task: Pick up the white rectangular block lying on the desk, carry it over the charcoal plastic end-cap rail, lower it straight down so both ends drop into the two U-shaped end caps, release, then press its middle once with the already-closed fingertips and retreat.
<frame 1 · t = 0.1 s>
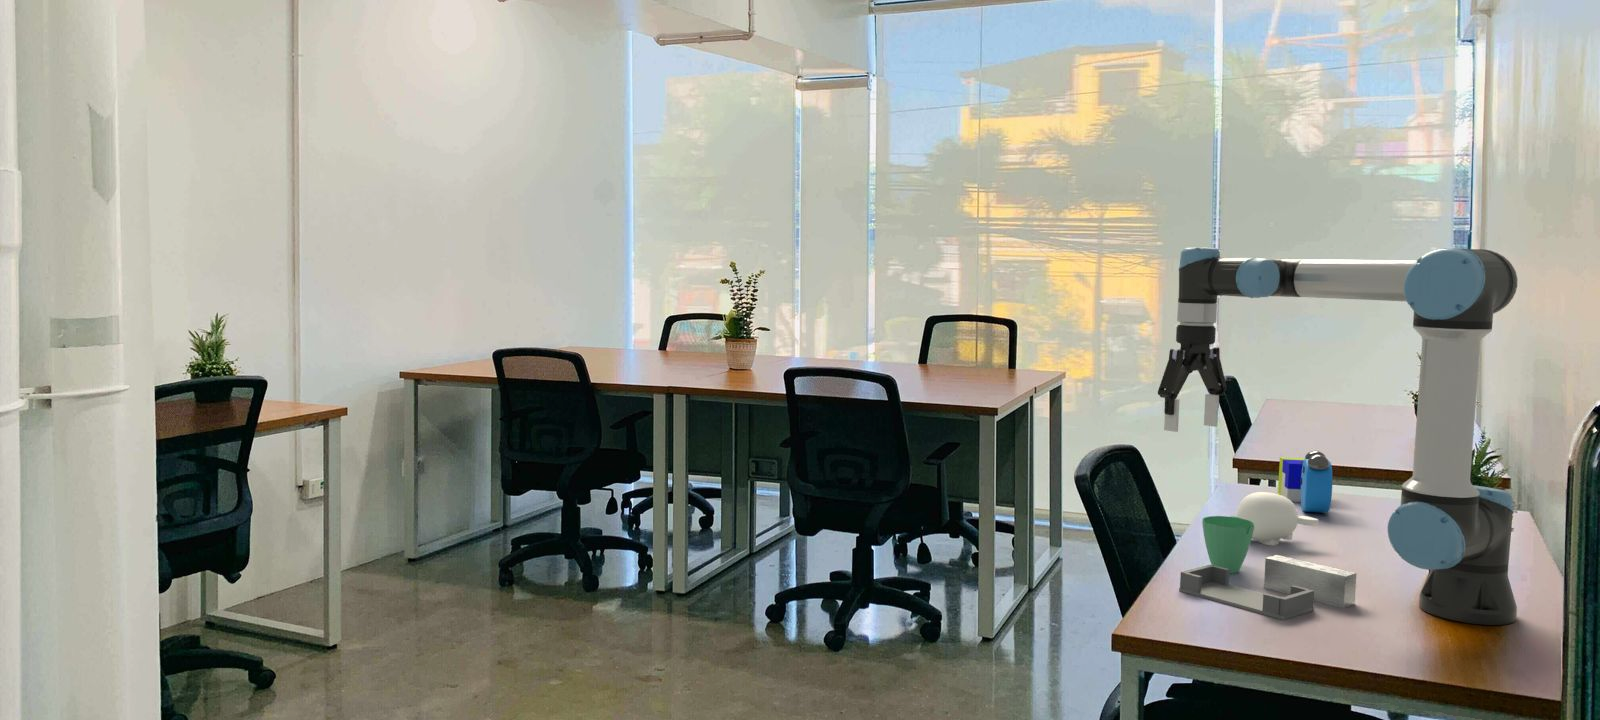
hand: (1191, 428, 236), 28 cm above the table, fingers open, 13 cm apart
puzzle toy: (1302, 499, 307), on the table
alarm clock: (1314, 513, 289), on the table
end caps: (1244, 600, 213), on the table
piggy bank: (1275, 543, 257), on the table
white rectangular block: (1308, 596, 216), on the table
mug: (1227, 568, 235), on the table
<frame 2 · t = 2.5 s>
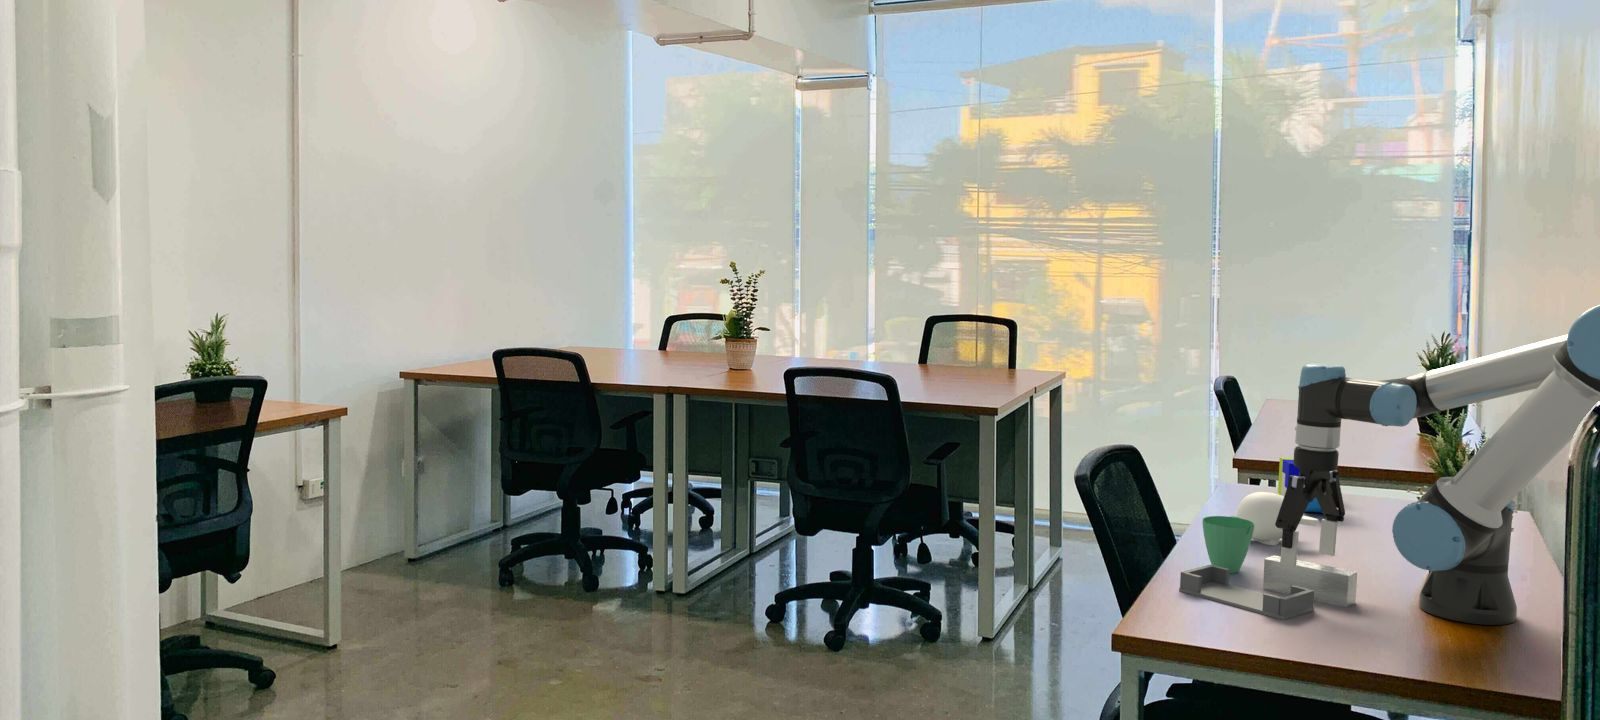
hand: (1307, 559, 216), 7 cm above the table, fingers open, 13 cm apart
nothing on the table moved.
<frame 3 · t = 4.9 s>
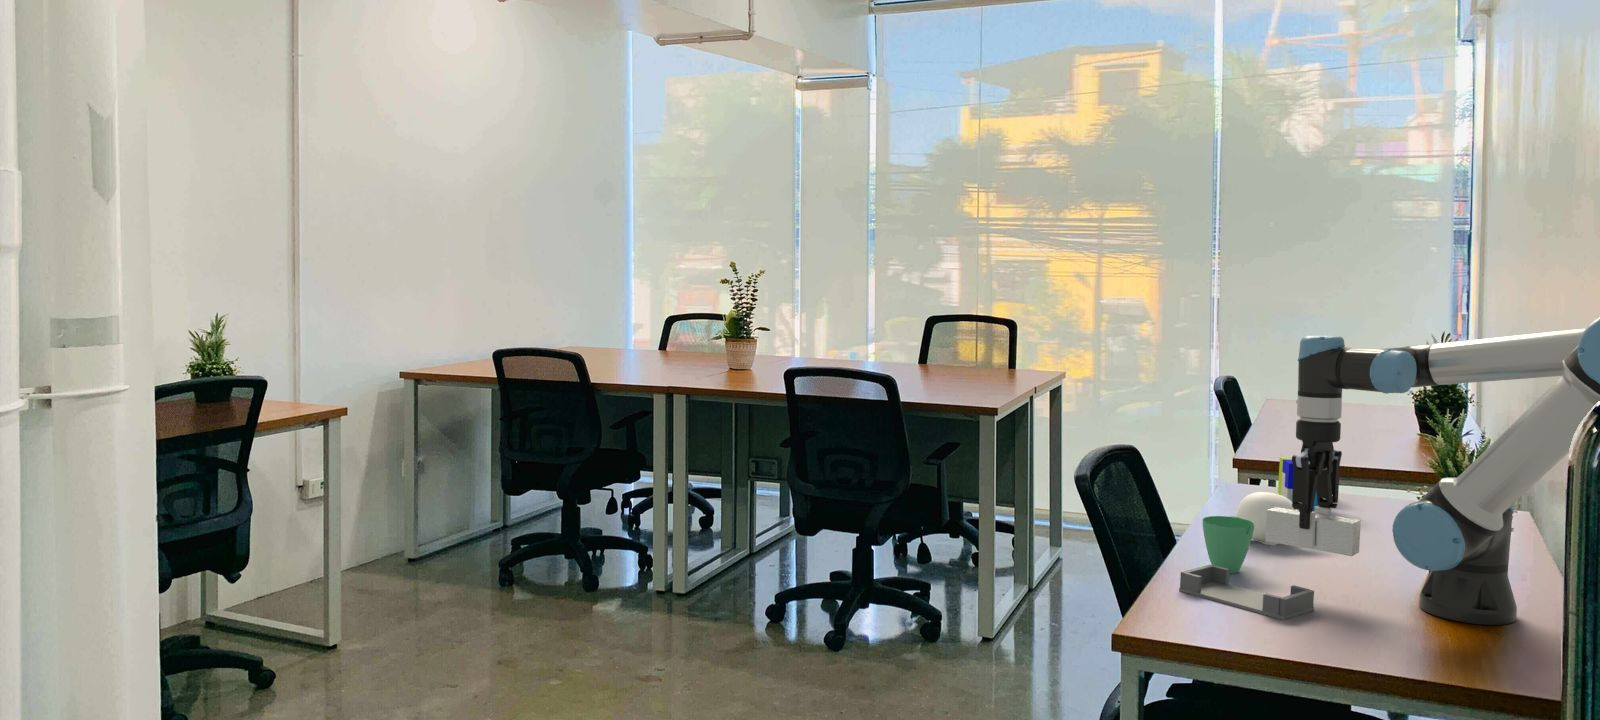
hand: (1313, 543, 215), 10 cm above the table, fingers closed on white rectangular block, 4 cm apart
white rectangular block: (1311, 546, 215), point 9 cm above the table, touching gripper
everything else where it was.
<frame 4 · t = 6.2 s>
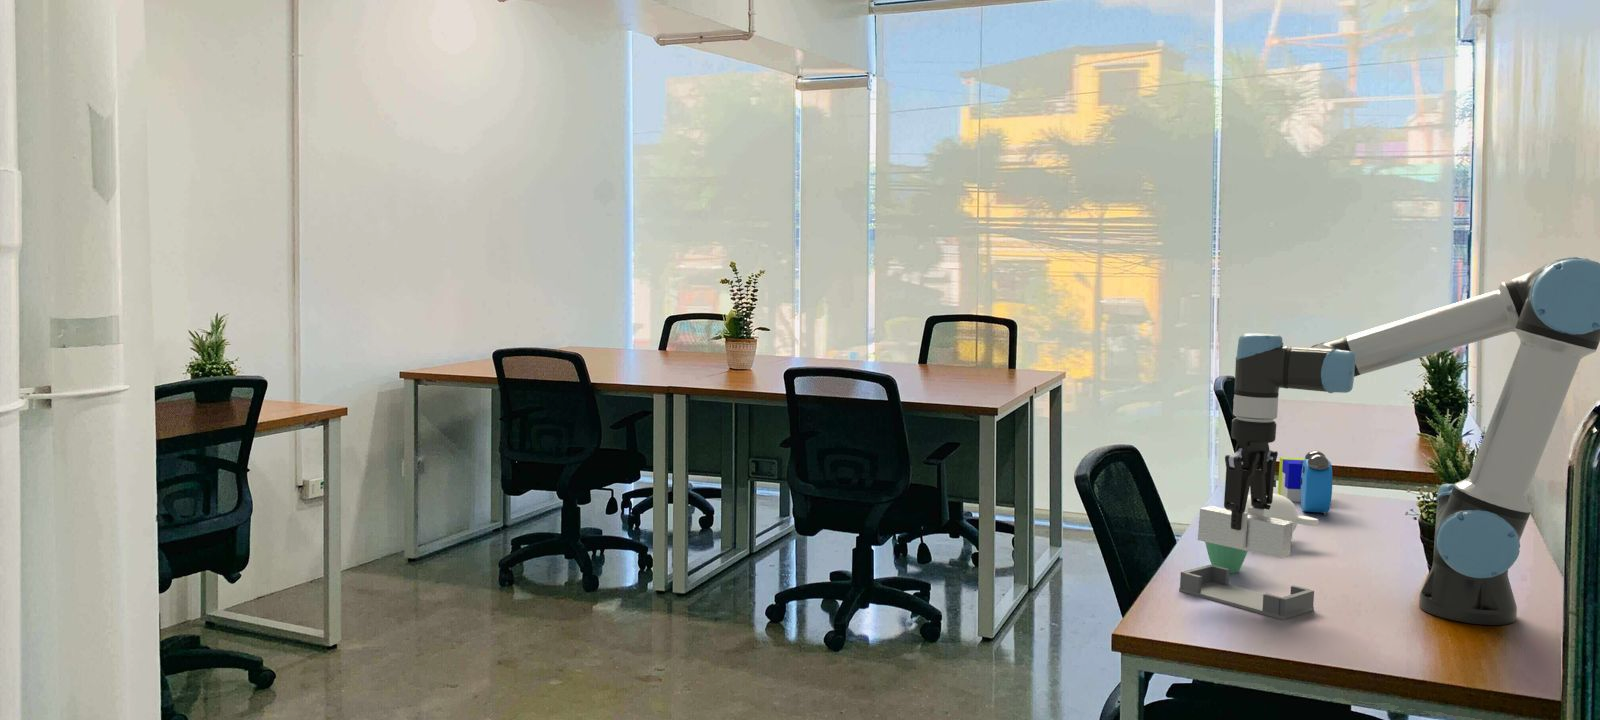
hand: (1245, 544, 212), 10 cm above the table, fingers closed on white rectangular block, 4 cm apart
white rectangular block: (1242, 547, 212), point 10 cm above the table, touching gripper
everything else where it was.
when the fingers open (1 cm above the table, at t = 7.9 s): white rectangular block stays where it is, resting on end caps.
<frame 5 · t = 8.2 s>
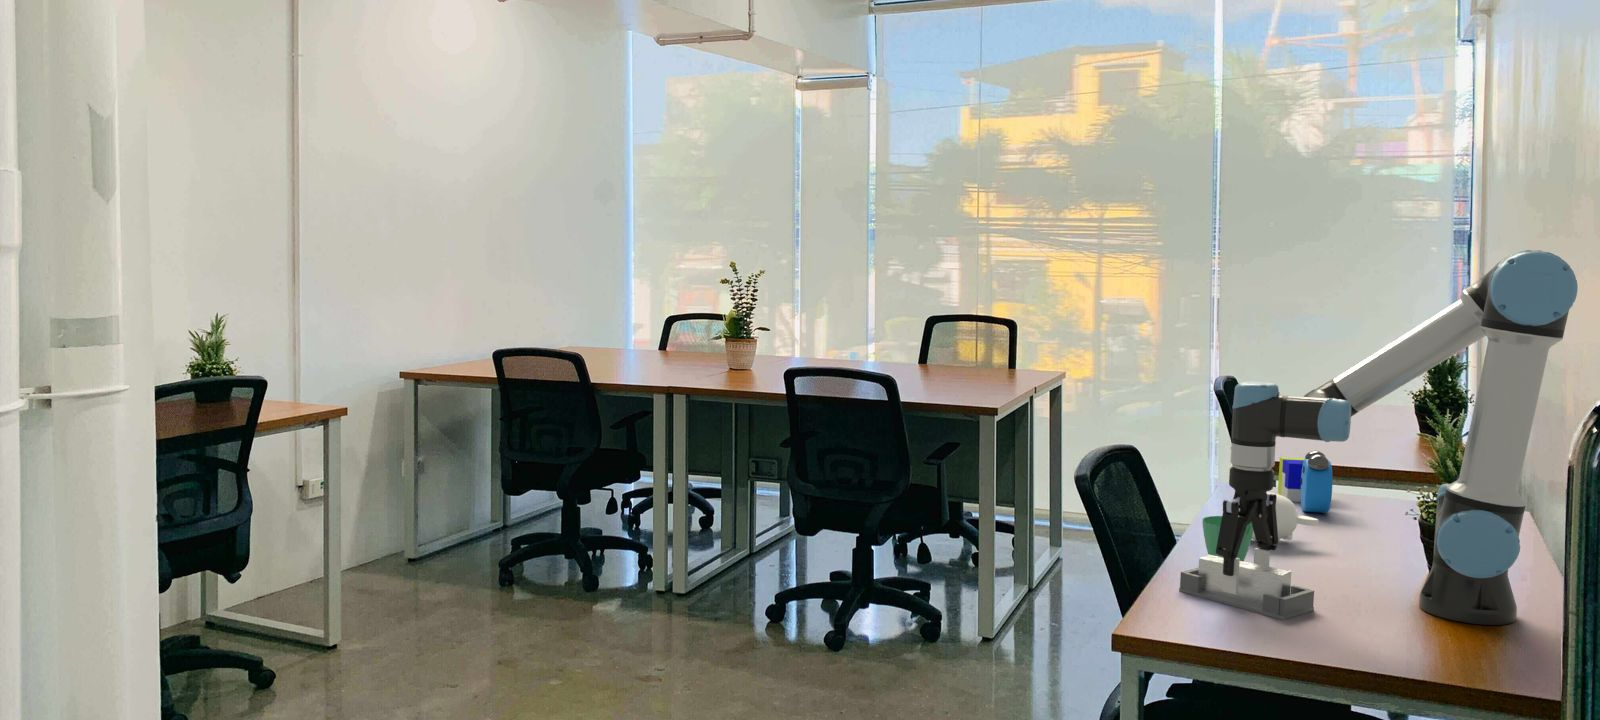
hand: (1245, 588, 212), 2 cm above the table, fingers open, 9 cm apart
white rectangular block: (1242, 596, 213), point 1 cm above the table, touching end caps
everything else where it was.
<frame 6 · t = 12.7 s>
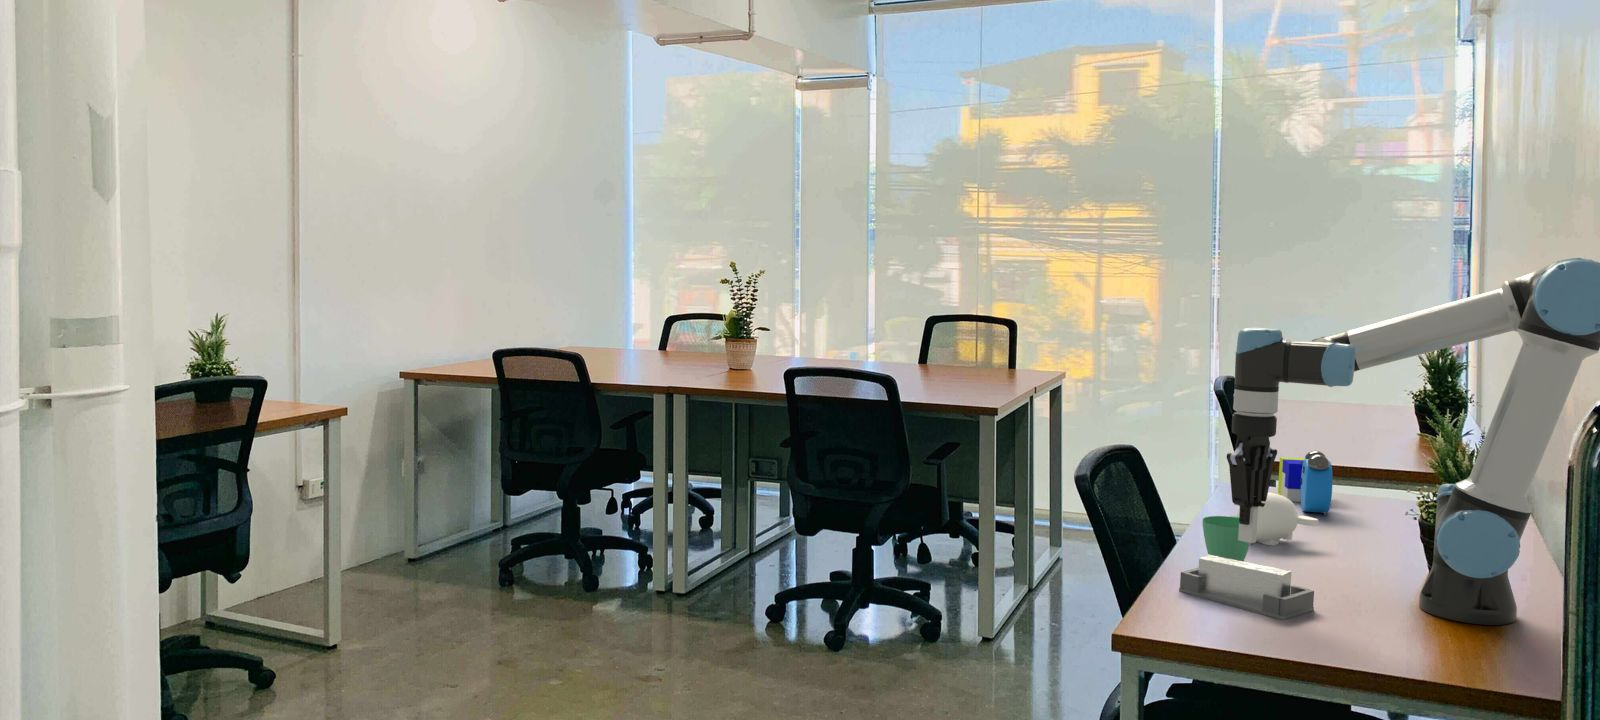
hand: (1247, 541, 212), 11 cm above the table, fingers closed
nothing on the table moved.
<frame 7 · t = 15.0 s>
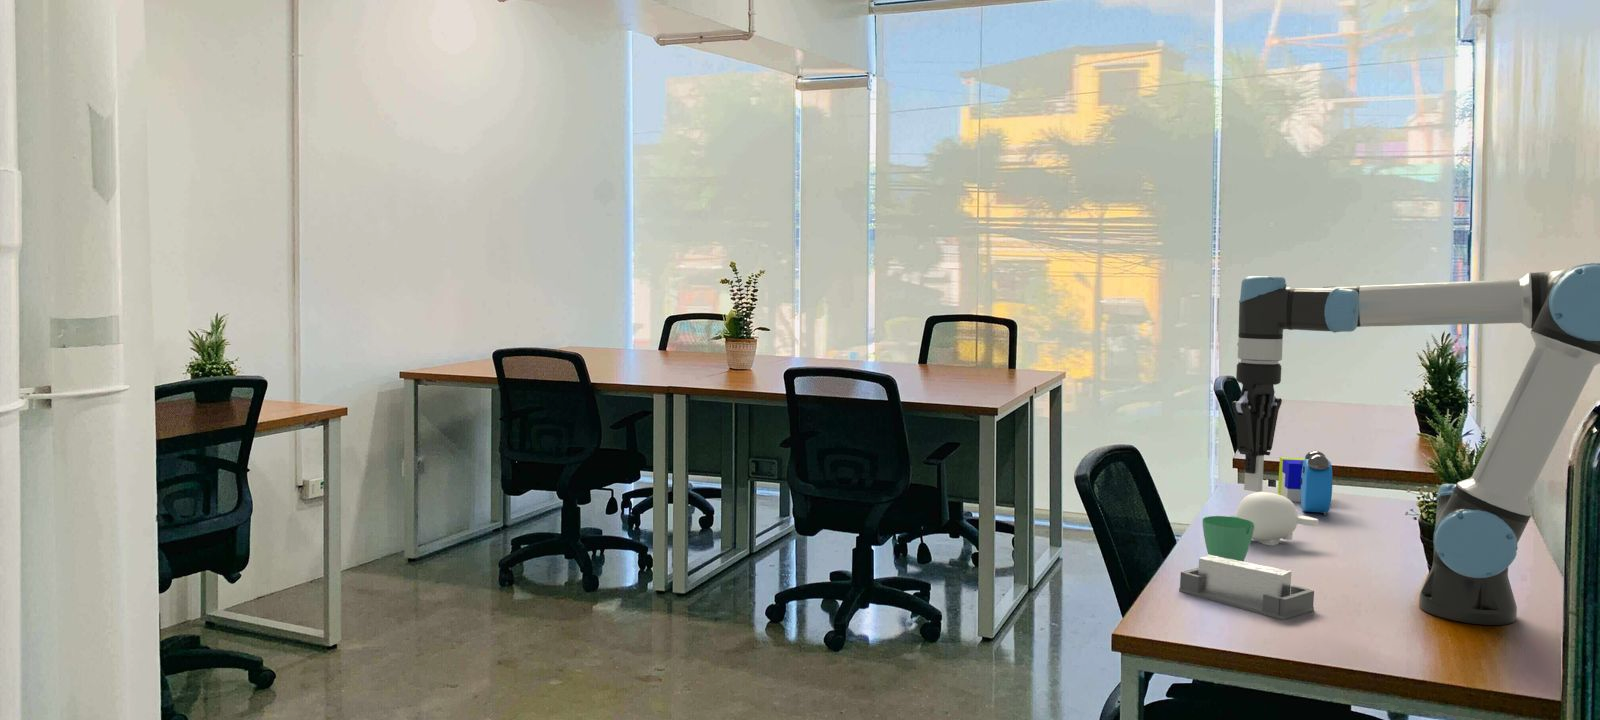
hand: (1253, 490, 211), 20 cm above the table, fingers closed
nothing on the table moved.
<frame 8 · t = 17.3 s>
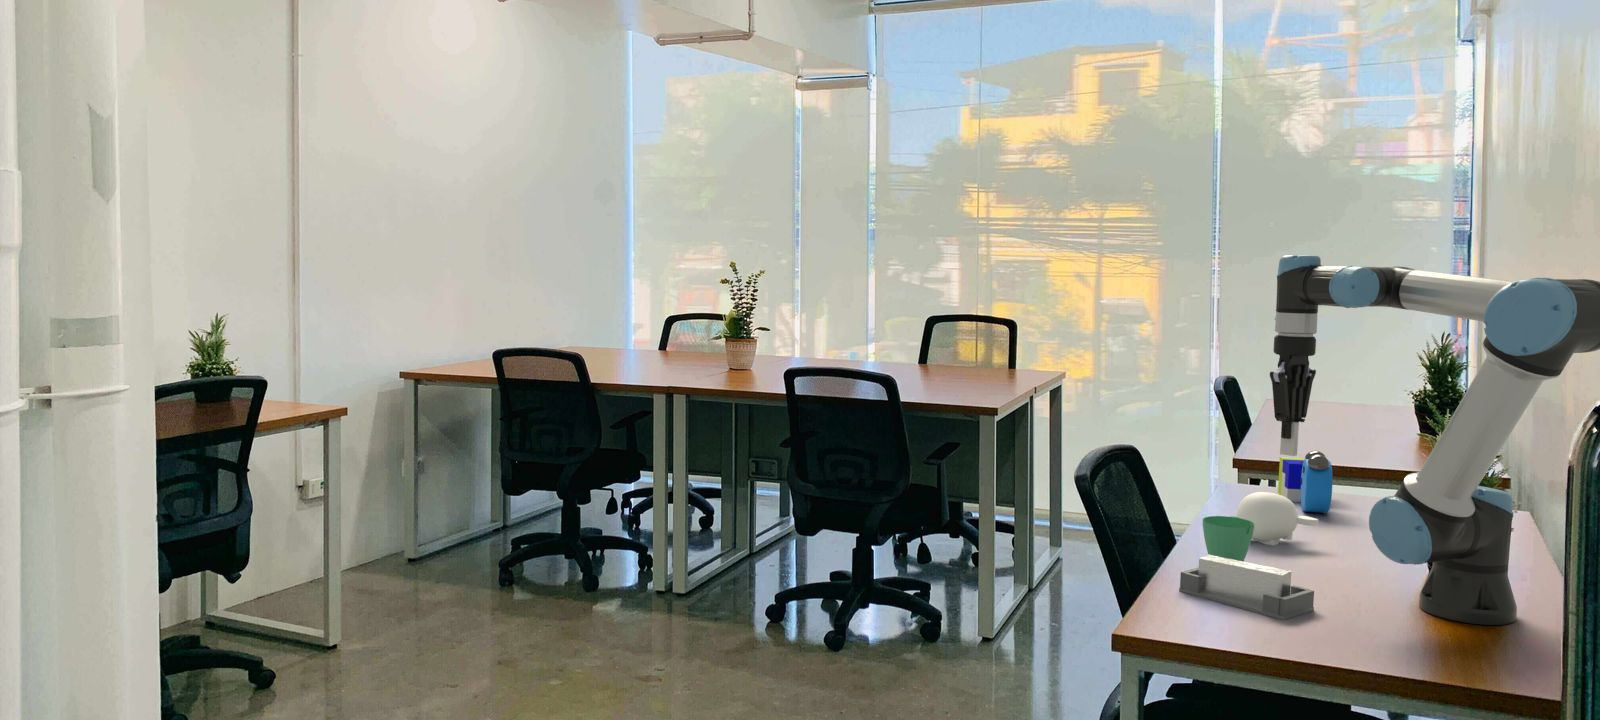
hand: (1288, 454, 227), 24 cm above the table, fingers closed
nothing on the table moved.
at the end: white rectangular block 0.4 cm off-centre on the end caps, point 0.6 cm above the end caps's base; white rectangular block tilted 0°; the gripper is holding nothing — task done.
